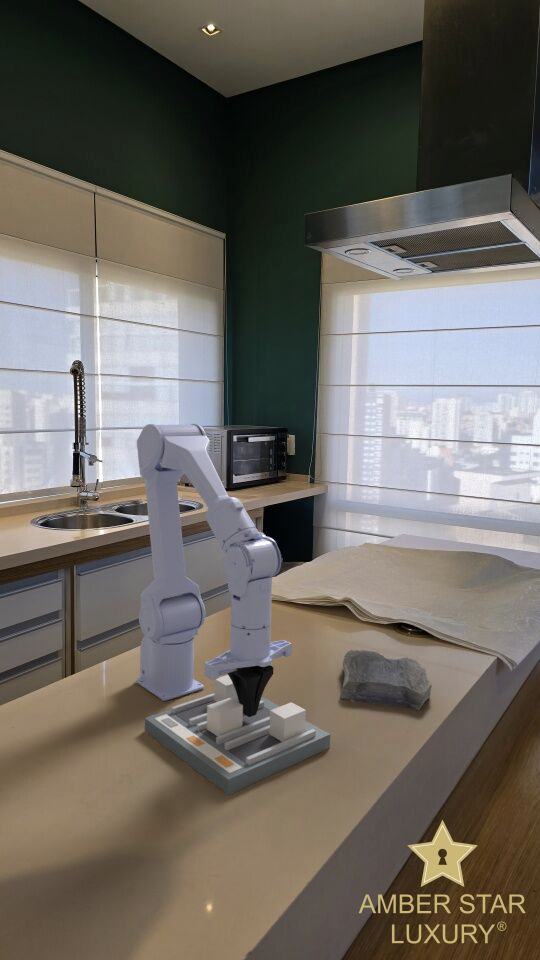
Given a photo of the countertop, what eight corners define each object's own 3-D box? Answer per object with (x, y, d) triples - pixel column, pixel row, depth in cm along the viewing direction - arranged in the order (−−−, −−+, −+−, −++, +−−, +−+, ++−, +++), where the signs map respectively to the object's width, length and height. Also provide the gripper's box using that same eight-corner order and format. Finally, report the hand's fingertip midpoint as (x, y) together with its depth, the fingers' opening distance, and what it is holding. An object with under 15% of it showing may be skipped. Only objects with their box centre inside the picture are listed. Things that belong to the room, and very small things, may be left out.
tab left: (214, 700, 102) (214, 678, 102) (234, 693, 105) (235, 672, 104) (226, 707, 100) (226, 685, 100) (246, 700, 103) (247, 678, 102)
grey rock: (428, 715, 105) (430, 692, 105) (331, 700, 109) (331, 678, 109) (432, 676, 120) (433, 656, 119) (346, 665, 124) (347, 645, 123)
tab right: (269, 734, 93) (270, 710, 92) (290, 725, 95) (291, 702, 95) (283, 742, 90) (284, 718, 90) (305, 733, 93) (305, 710, 92)
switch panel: (144, 730, 97) (144, 712, 97) (241, 697, 109) (241, 680, 108) (228, 794, 82) (228, 773, 82) (329, 747, 94) (330, 728, 93)
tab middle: (206, 729, 93) (207, 705, 93) (229, 720, 96) (229, 697, 96) (219, 737, 91) (219, 713, 91) (242, 728, 94) (242, 705, 93)
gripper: (226, 642, 87) (224, 740, 89) (306, 620, 96) (303, 709, 98) (196, 627, 92) (195, 719, 94) (275, 607, 102) (272, 692, 103)
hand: (248, 713), depth 96 cm, fingers closed
